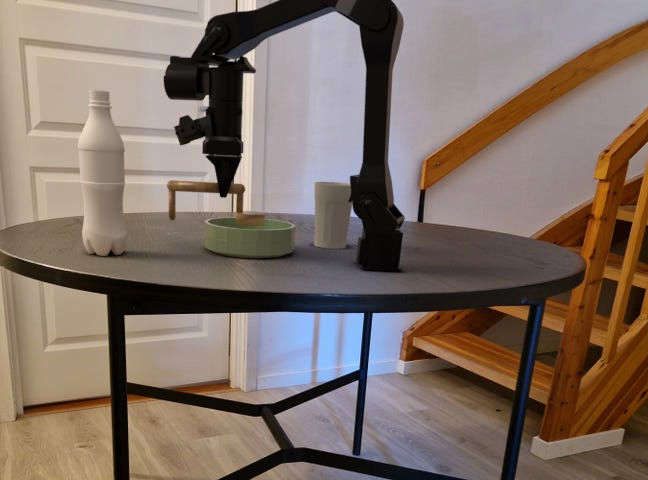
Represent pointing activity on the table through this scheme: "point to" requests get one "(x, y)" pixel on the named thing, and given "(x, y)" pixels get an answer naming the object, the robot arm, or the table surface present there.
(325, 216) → the cup
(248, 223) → the wooden dowel frame
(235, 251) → the bowl
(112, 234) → the water bottle
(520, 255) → the table surface
